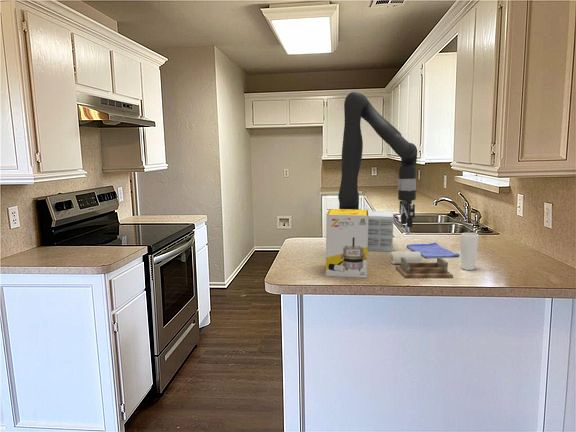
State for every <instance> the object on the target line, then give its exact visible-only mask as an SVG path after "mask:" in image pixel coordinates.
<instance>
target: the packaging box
mask: <svg viewBox="0 0 576 432" xmlns="http://www.w3.org/2000/svg"><path fill="white" fill-rule="evenodd" d="M368 211H369V210H368V209H359V210H351V209H339V208H338V209H337V208H335V209H334V208H331V209H328V211H327V213H326V216H325V217H326V220H325V221H326V224H325V226H326V227H325V229H326V230H325V231H326V233H325V277H338V278H339V277H340V278H344V277H345V278H356V279H357V278H361V279H367V278H368V252H369V251H368V217H369V215H368Z"/></svg>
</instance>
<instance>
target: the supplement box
mask: <svg viewBox="0 0 576 432" xmlns="http://www.w3.org/2000/svg"><path fill="white" fill-rule="evenodd" d="M368 215H369V217H368V252H380V253H381V252H383V253H384V252H386V253H387V252H388V253H391V252H393V241H394V239H393V238H394V223H395V222H394V220H395V219H394V214H393V211H388V210H387V211H384V210H383V211H381V210H368Z"/></svg>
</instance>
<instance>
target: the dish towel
mask: <svg viewBox="0 0 576 432" xmlns="http://www.w3.org/2000/svg"><path fill="white" fill-rule="evenodd" d="M406 248H407V249H408V250H410V251H411V252H420V254H421V257H423V258H426V259H429V260H430V259H437V257H441V258H442V259H452V258H460V256H461V255H460V254H461V253H455V252H453V251H452V250H449V249H448V248H445V247H443V246H441V245H440V244H438V243H437V242H431V243H418V244H417V243H410V244H407V245H406Z"/></svg>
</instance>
